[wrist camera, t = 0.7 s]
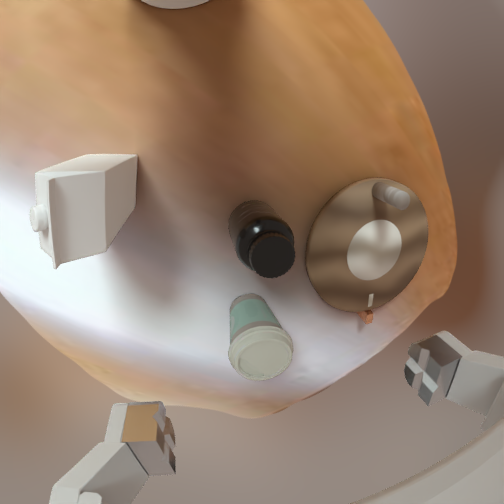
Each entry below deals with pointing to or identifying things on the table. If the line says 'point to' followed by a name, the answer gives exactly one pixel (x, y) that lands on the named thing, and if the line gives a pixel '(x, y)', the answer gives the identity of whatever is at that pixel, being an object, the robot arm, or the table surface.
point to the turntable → (366, 244)
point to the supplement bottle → (262, 239)
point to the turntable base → (366, 316)
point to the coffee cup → (257, 340)
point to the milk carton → (83, 204)
